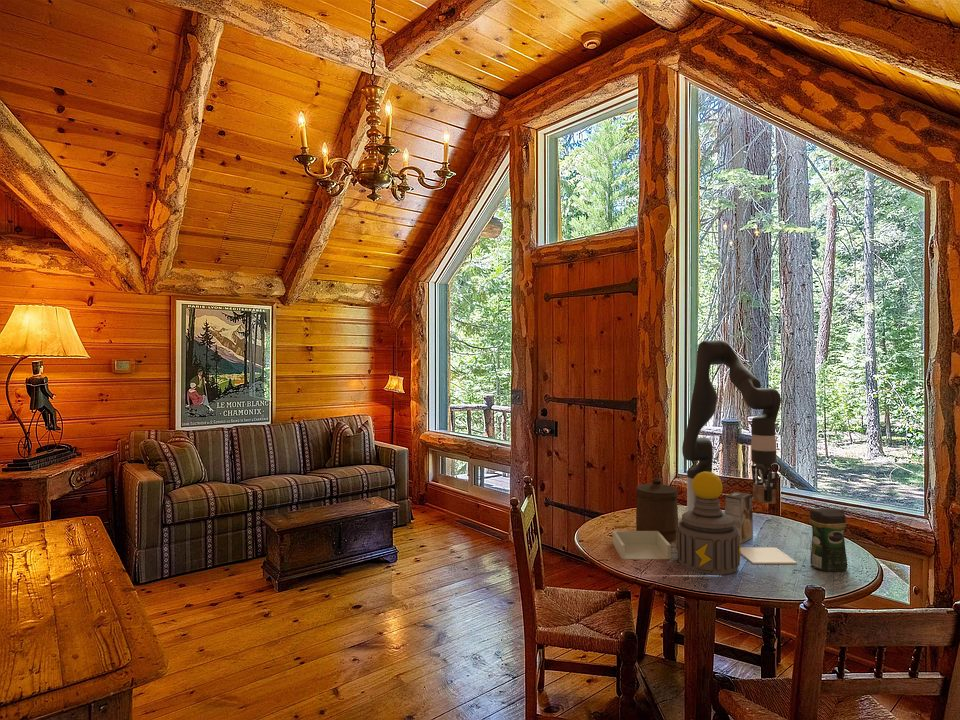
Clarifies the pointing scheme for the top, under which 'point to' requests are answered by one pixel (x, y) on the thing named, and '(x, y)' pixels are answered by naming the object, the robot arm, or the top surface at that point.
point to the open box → (641, 545)
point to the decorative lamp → (708, 531)
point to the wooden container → (657, 509)
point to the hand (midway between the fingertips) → (764, 499)
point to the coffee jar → (828, 539)
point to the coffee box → (740, 513)
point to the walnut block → (761, 495)
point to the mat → (766, 556)
